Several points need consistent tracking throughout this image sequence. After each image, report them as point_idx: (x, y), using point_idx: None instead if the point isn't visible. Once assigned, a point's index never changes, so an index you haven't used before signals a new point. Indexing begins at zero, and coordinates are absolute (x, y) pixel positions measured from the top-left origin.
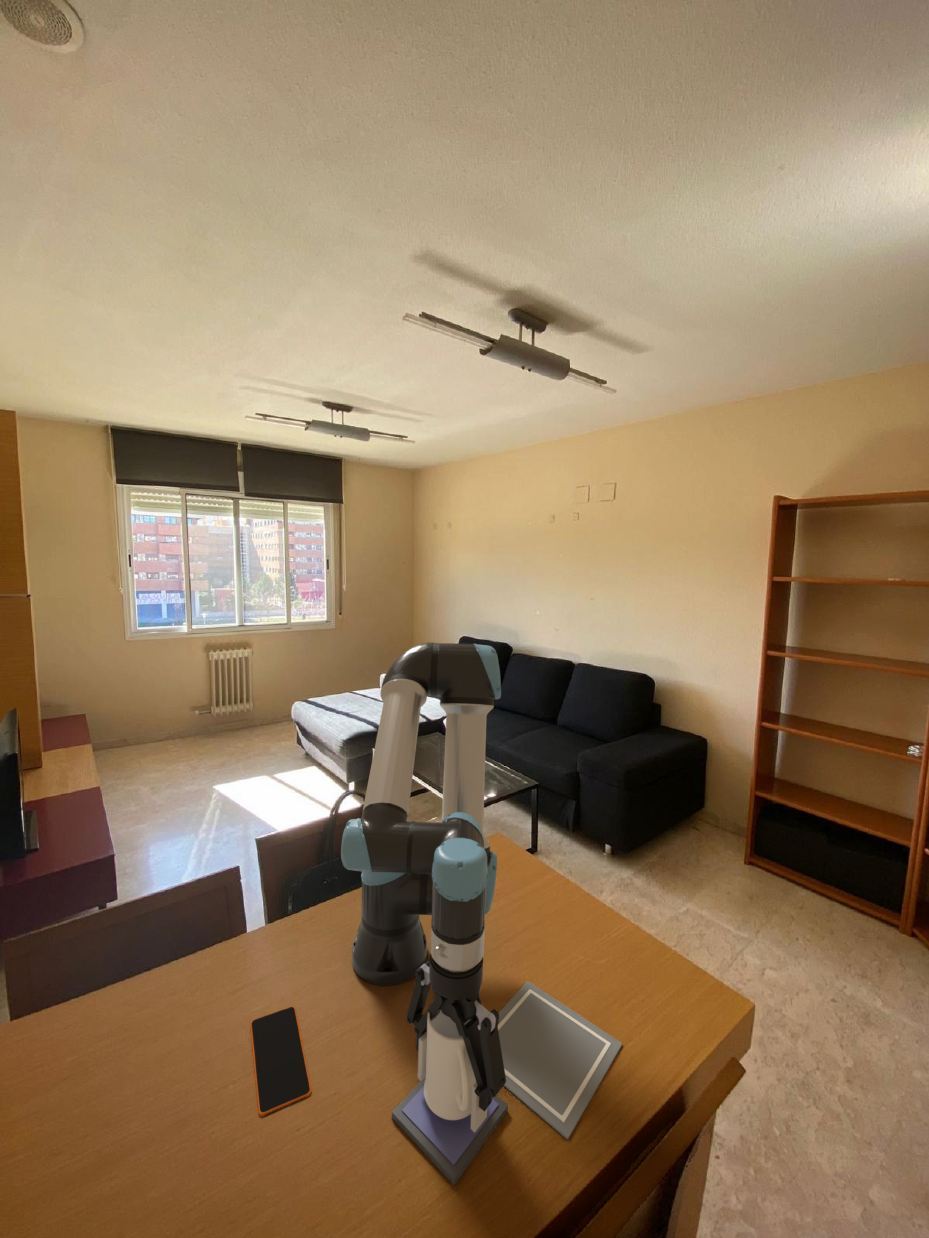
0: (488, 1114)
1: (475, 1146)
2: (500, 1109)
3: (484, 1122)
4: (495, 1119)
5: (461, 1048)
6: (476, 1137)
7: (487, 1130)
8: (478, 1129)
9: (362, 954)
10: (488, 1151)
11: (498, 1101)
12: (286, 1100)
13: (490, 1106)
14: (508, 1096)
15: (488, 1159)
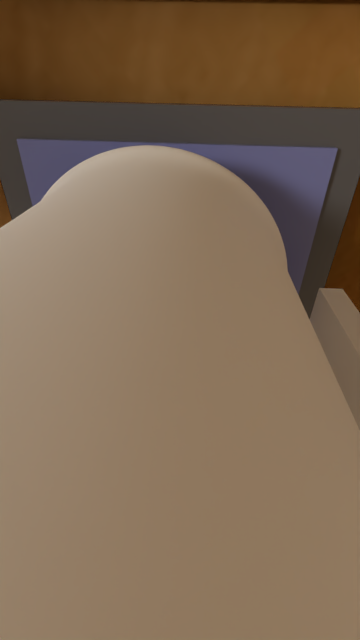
0: (310, 214)
1: (308, 315)
2: (349, 155)
3: (308, 249)
4: (343, 207)
5: None
6: (299, 294)
7: (326, 257)
8: (297, 279)
9: None
10: (340, 277)
11: (327, 128)
12: None
13: (306, 184)
14: (348, 34)
15: (348, 292)
